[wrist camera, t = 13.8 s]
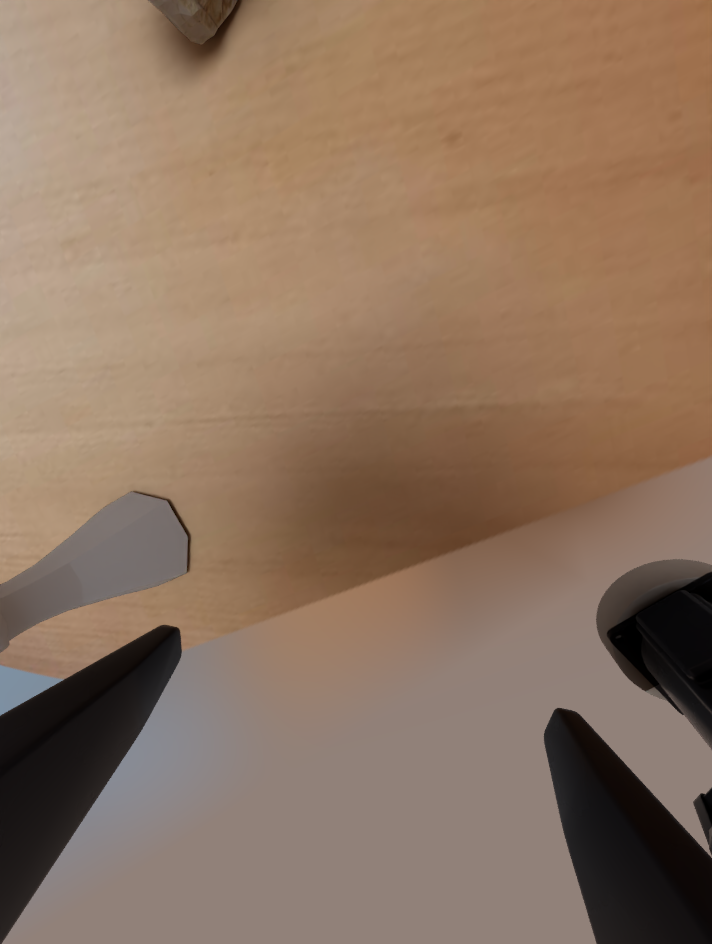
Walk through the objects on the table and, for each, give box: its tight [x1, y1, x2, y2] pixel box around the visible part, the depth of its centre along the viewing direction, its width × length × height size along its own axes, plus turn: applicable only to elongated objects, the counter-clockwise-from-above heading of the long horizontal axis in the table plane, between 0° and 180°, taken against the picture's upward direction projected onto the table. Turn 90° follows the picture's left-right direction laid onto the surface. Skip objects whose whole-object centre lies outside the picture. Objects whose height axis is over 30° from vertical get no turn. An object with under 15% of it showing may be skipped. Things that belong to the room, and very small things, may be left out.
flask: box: [0, 492, 188, 653], centre depth 19 cm, size 7×7×10 cm
